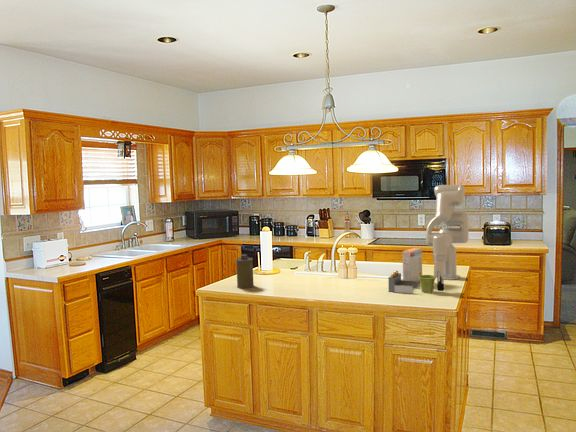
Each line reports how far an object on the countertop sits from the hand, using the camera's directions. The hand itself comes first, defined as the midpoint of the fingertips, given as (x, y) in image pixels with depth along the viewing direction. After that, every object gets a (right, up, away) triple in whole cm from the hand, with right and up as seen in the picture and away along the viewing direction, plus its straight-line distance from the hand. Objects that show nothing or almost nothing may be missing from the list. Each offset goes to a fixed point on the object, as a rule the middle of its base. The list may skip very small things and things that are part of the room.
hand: (440, 290), depth 260 cm
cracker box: (-9, 0, +24) cm, 26 cm away
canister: (-111, -3, +33) cm, 115 cm away
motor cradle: (-19, -1, +10) cm, 21 cm away
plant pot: (-6, -2, +3) cm, 7 cm away
